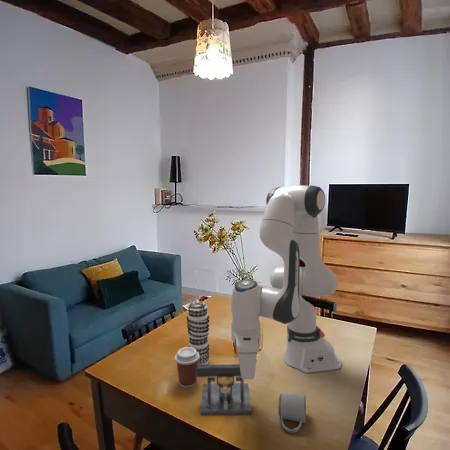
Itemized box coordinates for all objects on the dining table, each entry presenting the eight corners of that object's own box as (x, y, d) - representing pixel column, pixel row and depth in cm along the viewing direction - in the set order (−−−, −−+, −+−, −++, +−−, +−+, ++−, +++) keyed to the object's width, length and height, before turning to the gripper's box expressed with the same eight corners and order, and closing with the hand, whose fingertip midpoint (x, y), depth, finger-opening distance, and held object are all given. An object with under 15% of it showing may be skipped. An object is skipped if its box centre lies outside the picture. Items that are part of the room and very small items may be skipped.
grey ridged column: (207, 368, 130) (205, 308, 126) (184, 366, 131) (182, 306, 128) (212, 356, 138) (211, 299, 135) (191, 354, 140) (190, 298, 137)
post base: (248, 386, 118) (248, 365, 117) (250, 414, 104) (250, 390, 103) (203, 386, 118) (203, 365, 117) (200, 414, 104) (199, 390, 103)
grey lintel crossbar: (253, 373, 115) (253, 358, 114) (255, 390, 106) (255, 373, 105) (198, 374, 115) (198, 358, 114) (196, 391, 106) (195, 374, 105)
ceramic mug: (280, 407, 107) (280, 385, 106) (305, 411, 105) (306, 389, 104) (276, 432, 97) (276, 408, 96) (305, 437, 95) (305, 413, 94)
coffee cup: (176, 375, 125) (175, 346, 124) (200, 374, 126) (199, 344, 124) (174, 390, 116) (173, 359, 115) (200, 389, 117) (199, 357, 115)
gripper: (234, 319, 111) (234, 358, 113) (236, 350, 91) (236, 396, 93) (253, 319, 111) (253, 358, 113) (259, 349, 91) (259, 396, 92)
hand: (245, 375), depth 102 cm, fingers closed
